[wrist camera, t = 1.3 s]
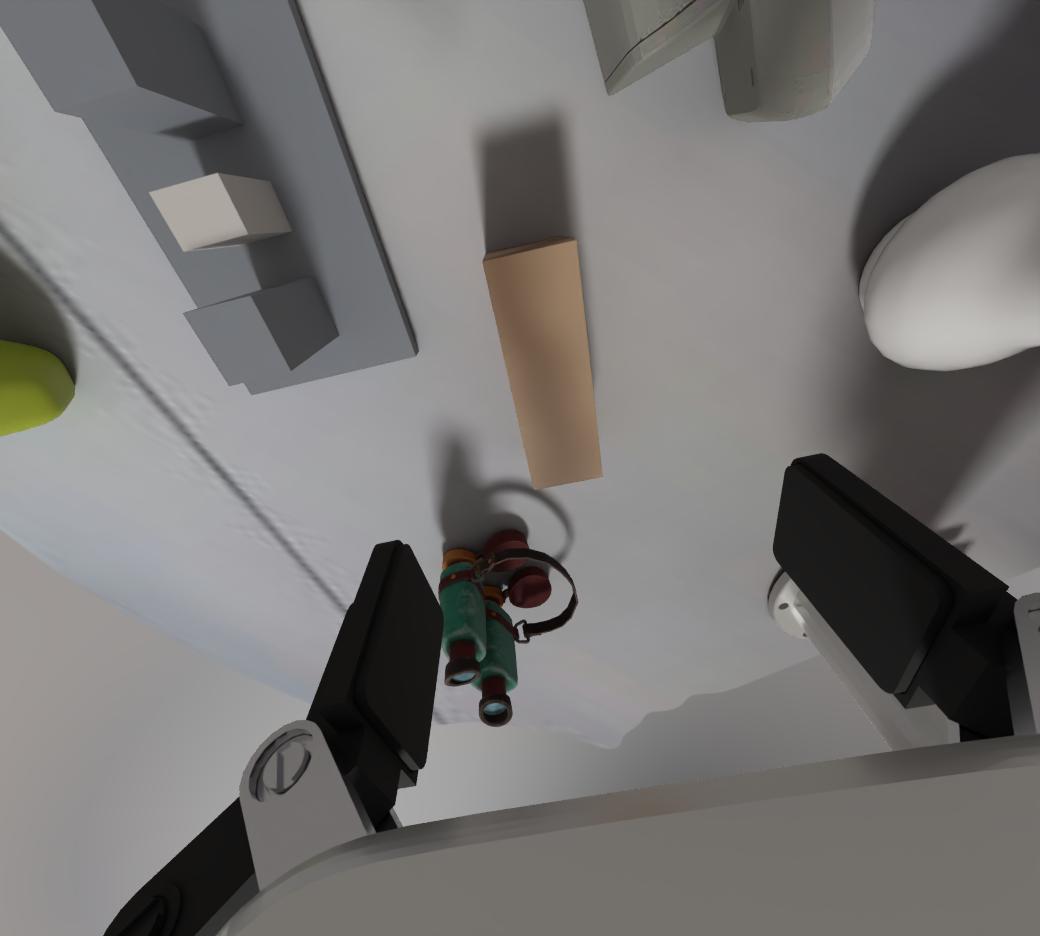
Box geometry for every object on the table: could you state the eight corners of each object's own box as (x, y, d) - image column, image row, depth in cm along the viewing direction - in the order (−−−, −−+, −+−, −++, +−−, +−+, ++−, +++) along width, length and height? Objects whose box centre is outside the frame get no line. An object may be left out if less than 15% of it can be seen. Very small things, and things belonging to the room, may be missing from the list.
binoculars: (617, 691, 26) (478, 746, 27) (575, 574, 35) (472, 618, 36) (569, 609, 21) (404, 678, 22) (535, 498, 30) (419, 551, 31)
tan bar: (560, 235, 21) (576, 239, 17) (586, 436, 27) (602, 476, 23) (485, 253, 21) (482, 261, 17) (528, 448, 27) (534, 490, 23)
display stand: (271, -66, 15) (123, -248, 9) (418, 351, 24) (391, 396, 18) (36, 13, 16) (-240, -109, 10) (259, 388, 24) (182, 444, 18)
